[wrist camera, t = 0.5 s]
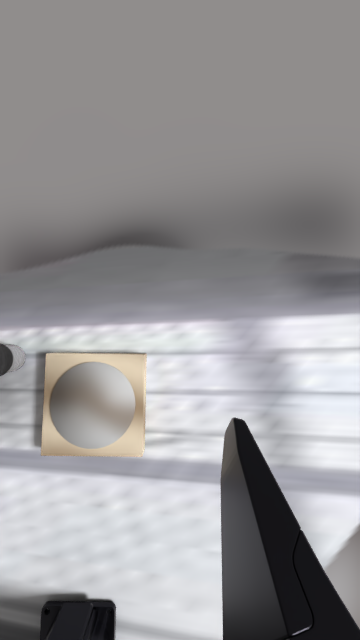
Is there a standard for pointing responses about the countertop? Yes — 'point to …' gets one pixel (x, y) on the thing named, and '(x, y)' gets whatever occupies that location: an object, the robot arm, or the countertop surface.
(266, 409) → the countertop surface
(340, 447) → the countertop surface
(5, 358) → the light bulb
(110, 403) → the plinth
